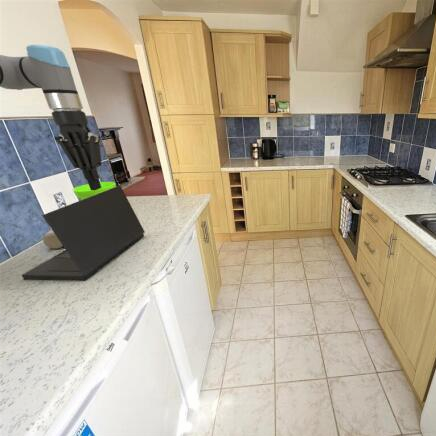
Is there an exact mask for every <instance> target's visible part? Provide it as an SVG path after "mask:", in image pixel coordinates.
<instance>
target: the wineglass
mask: <svg viewBox="0 0 436 436" xmlns="http://www.w3.org/2000/svg"><path fill="white" fill-rule="evenodd" d="M99 182H100V181H99ZM100 185H101V187H102V188H100V189H97V190H91V189H90V187H89V184H88V183H87V184H83V185H78V186H76V187H74V188H73V189H72V191H73V193H74V195H75V196H76V197H77V198H78V199H79V200H83V199H86V198H88V197H91V196H93V195H96V194H99V193H101V192H104V191H106V190H109V189H112V188H114V187H117V184H116V182H114V181H101V182H100Z"/></svg>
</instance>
